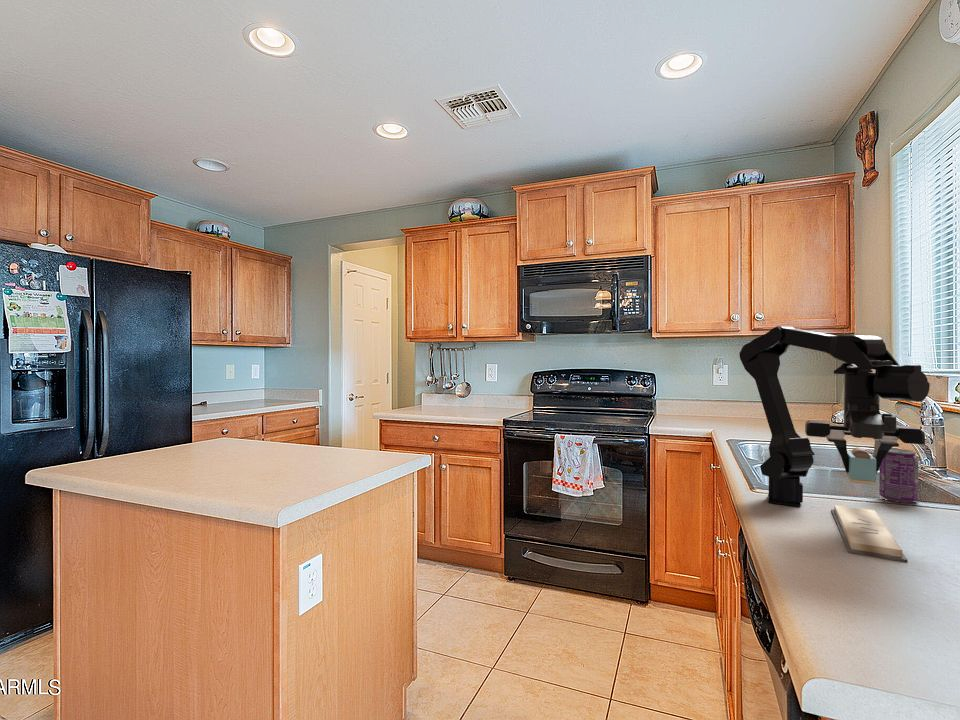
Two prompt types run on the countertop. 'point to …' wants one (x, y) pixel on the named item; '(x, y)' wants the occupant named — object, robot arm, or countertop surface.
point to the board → (866, 533)
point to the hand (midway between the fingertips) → (860, 473)
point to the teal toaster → (861, 467)
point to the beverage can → (899, 476)
